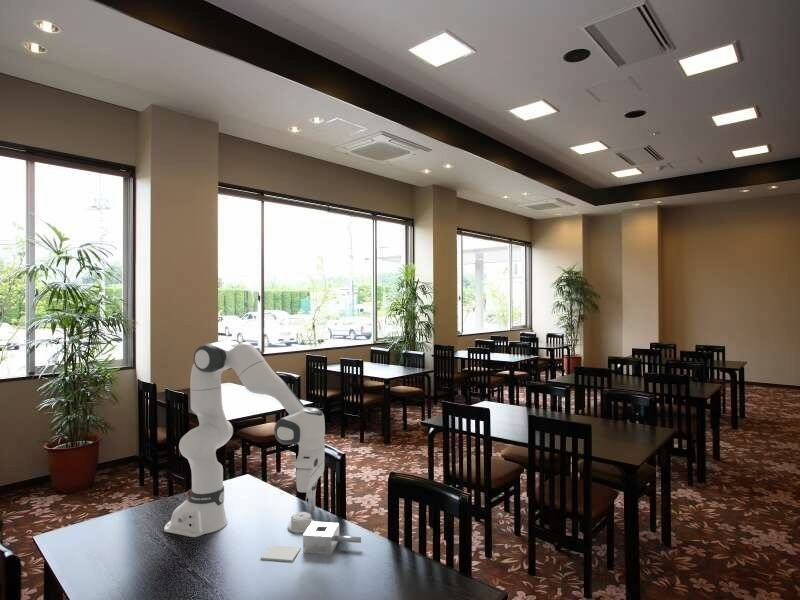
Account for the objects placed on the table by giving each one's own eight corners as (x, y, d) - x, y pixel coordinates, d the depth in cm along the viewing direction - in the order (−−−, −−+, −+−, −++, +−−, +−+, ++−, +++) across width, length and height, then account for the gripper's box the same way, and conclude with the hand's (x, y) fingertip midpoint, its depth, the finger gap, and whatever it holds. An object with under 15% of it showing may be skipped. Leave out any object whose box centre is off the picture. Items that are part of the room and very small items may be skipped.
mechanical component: (310, 534, 174) (317, 521, 184) (310, 522, 174) (317, 510, 184) (284, 533, 175) (292, 520, 185) (284, 521, 175) (292, 509, 185)
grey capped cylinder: (305, 511, 163) (305, 485, 163) (308, 507, 166) (308, 482, 166) (314, 512, 162) (314, 486, 162) (317, 508, 165) (317, 482, 165)
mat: (260, 559, 156) (260, 557, 156) (270, 547, 164) (270, 545, 164) (292, 561, 155) (292, 560, 155) (300, 549, 163) (300, 547, 163)
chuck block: (303, 552, 161) (303, 534, 161) (312, 537, 170) (312, 521, 170) (357, 556, 158) (357, 538, 158) (363, 541, 168) (363, 524, 168)
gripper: (312, 445, 175) (311, 482, 175) (292, 464, 154) (292, 506, 154) (328, 446, 174) (328, 483, 174) (311, 465, 154) (310, 508, 154)
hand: (311, 494), depth 164 cm, fingers closed on grey capped cylinder, 2 cm apart
